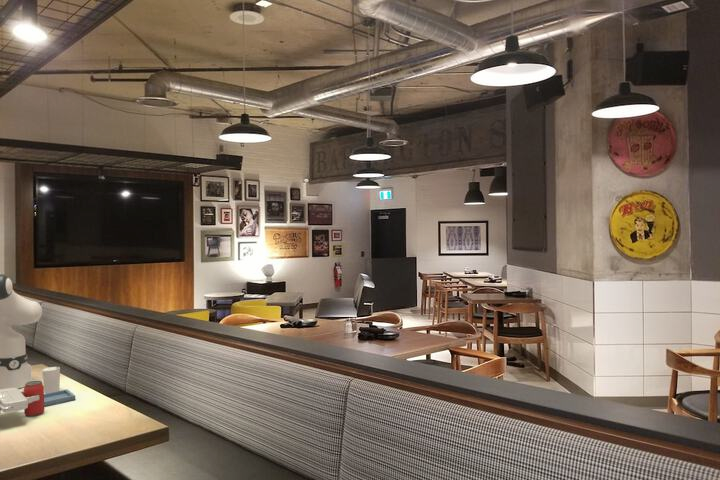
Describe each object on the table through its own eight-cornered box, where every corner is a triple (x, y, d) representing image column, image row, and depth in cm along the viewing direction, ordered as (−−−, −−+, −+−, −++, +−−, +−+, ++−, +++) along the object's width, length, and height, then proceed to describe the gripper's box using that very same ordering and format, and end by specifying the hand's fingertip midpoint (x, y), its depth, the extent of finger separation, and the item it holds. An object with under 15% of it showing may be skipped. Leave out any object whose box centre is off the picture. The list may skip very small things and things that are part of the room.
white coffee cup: (64, 389, 230) (63, 367, 230) (51, 394, 224) (50, 371, 224) (52, 388, 232) (51, 366, 232) (39, 393, 226) (38, 370, 226)
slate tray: (35, 400, 216) (35, 395, 216) (67, 393, 224) (67, 389, 224) (42, 407, 207) (42, 402, 207) (75, 400, 216) (75, 395, 216)
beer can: (34, 417, 196) (33, 385, 196) (20, 416, 197) (19, 384, 197) (48, 411, 202) (47, 380, 202) (34, 410, 204) (33, 379, 203)
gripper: (-3, 401, 183) (42, 392, 192) (-12, 388, 198) (30, 381, 207) (-2, 419, 183) (43, 409, 193) (-11, 405, 198) (31, 396, 208)
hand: (36, 394), depth 200 cm, fingers closed on beer can, 7 cm apart
